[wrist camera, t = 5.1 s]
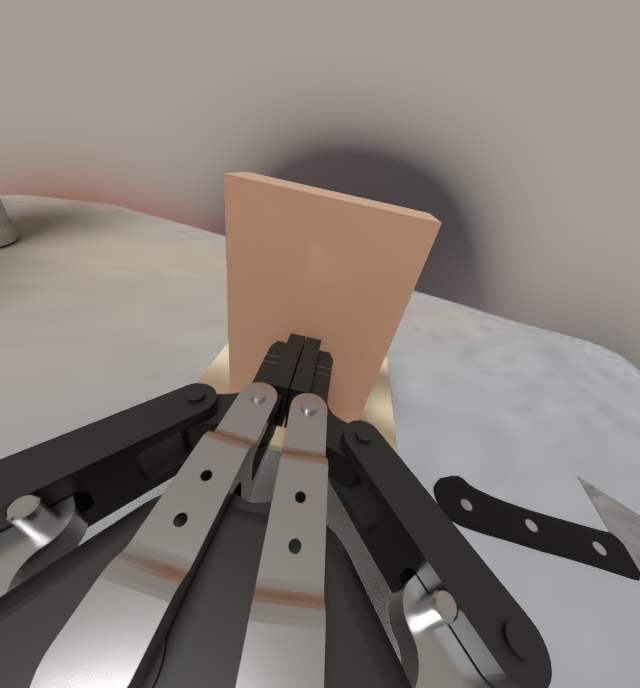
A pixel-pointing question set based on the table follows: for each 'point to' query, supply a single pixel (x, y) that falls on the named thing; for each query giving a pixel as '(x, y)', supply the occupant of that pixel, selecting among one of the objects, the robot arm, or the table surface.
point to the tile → (318, 278)
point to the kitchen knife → (549, 526)
